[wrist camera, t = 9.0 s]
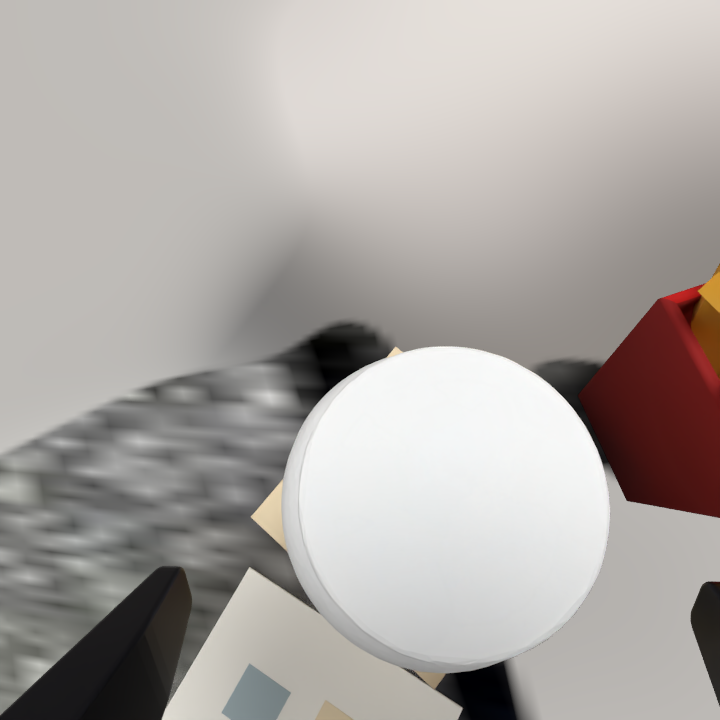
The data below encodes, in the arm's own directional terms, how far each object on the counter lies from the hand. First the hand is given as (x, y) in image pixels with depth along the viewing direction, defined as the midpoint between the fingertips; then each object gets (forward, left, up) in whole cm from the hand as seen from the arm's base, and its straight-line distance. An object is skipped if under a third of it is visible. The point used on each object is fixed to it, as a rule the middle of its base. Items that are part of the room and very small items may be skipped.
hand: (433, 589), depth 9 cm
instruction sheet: (-1, +8, -13) cm, 16 cm away
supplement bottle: (+1, -1, -11) cm, 11 cm away
